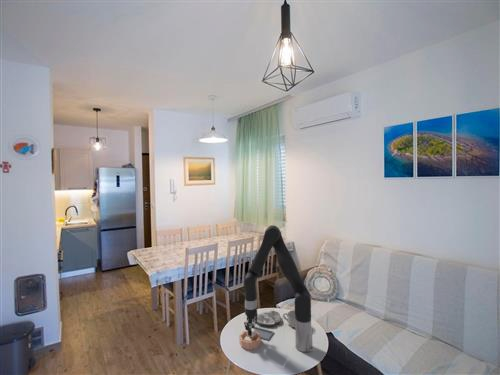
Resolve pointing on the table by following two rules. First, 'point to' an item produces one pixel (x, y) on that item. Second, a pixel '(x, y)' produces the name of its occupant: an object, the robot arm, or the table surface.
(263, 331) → the tray
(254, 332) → the stone
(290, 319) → the teacup
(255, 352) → the table surface
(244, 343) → the bowl
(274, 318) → the brain slice
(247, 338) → the stone
